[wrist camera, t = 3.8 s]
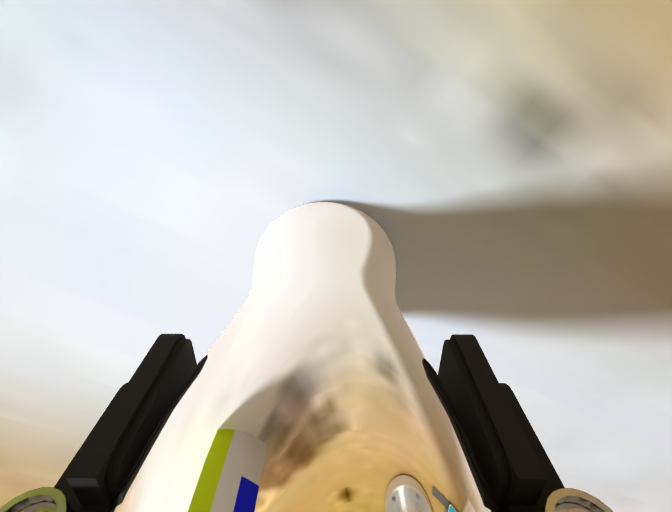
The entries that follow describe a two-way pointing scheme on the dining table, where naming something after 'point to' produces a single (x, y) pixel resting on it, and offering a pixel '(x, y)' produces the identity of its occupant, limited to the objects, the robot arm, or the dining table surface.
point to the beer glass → (312, 393)
